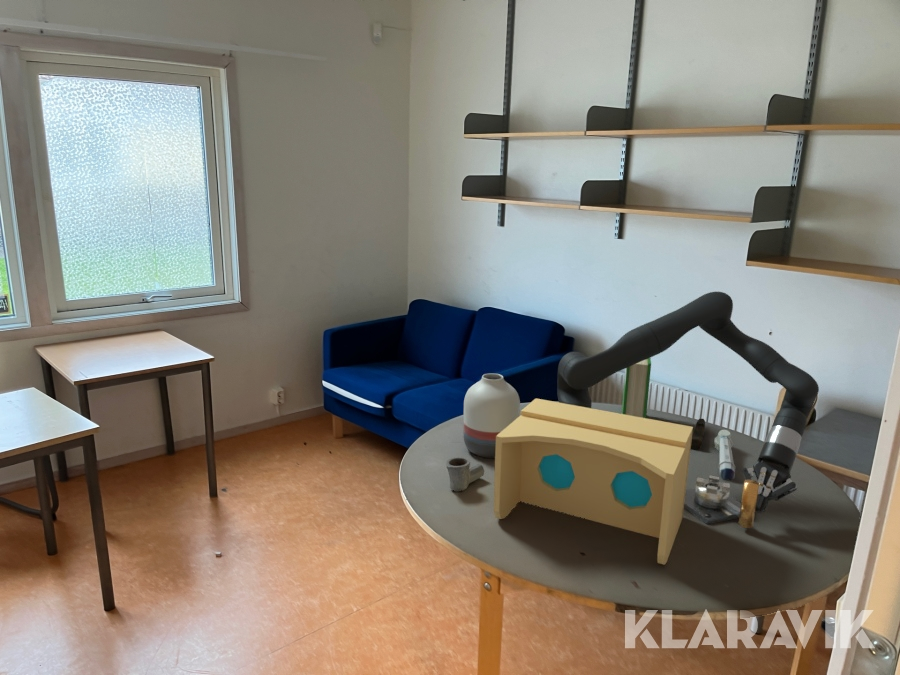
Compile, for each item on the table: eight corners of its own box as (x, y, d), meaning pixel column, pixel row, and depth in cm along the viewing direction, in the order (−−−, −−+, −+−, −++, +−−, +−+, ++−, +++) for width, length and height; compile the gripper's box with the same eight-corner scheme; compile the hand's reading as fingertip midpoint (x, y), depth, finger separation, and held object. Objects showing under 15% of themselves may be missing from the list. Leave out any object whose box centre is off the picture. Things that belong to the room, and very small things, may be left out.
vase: (473, 435, 209) (475, 365, 203) (524, 443, 203) (527, 372, 197) (454, 456, 194) (456, 381, 188) (509, 465, 188) (512, 388, 182)
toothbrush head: (718, 466, 181) (716, 423, 202) (715, 486, 183) (713, 442, 205) (738, 469, 179) (734, 426, 201) (735, 489, 181) (731, 444, 203)
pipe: (487, 481, 178) (488, 454, 176) (456, 497, 169) (456, 469, 167) (471, 474, 182) (472, 448, 180) (439, 489, 173) (439, 462, 171)
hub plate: (706, 524, 158) (707, 518, 157) (670, 497, 171) (670, 492, 170) (752, 515, 162) (753, 509, 162) (713, 489, 175) (714, 484, 175)
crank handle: (687, 495, 168) (692, 457, 166) (712, 491, 171) (717, 453, 168) (737, 530, 152) (743, 488, 150) (763, 525, 155) (770, 483, 152)
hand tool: (700, 452, 199) (702, 438, 198) (687, 449, 201) (688, 435, 200) (709, 431, 215) (711, 418, 214) (697, 429, 217) (698, 416, 216)
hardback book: (644, 433, 212) (651, 363, 206) (621, 431, 214) (627, 361, 208) (643, 414, 229) (649, 349, 223) (621, 412, 230) (627, 347, 224)
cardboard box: (682, 517, 161) (693, 426, 155) (662, 572, 139) (674, 469, 133) (531, 480, 179) (535, 398, 173) (493, 524, 157) (496, 431, 151)
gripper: (811, 462, 158) (788, 527, 153) (755, 447, 167) (732, 507, 162) (807, 449, 153) (783, 515, 148) (749, 434, 162) (725, 496, 157)
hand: (756, 511), depth 155 cm, fingers closed
